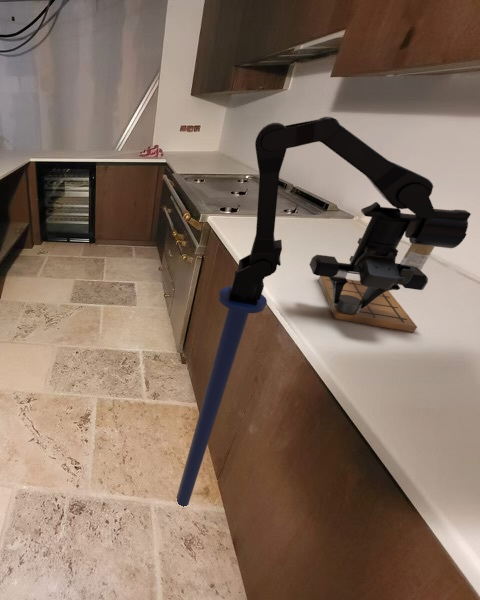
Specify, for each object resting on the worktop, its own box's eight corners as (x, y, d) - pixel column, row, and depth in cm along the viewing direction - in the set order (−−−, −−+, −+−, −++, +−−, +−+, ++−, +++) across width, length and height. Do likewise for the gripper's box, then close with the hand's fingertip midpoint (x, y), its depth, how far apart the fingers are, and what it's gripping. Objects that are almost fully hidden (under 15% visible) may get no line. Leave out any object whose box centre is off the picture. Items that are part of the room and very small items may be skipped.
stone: (336, 311, 72) (340, 302, 71) (331, 301, 75) (335, 292, 74) (361, 315, 70) (366, 306, 69) (355, 305, 74) (359, 296, 73)
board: (335, 318, 72) (338, 312, 72) (317, 280, 88) (320, 274, 87) (413, 332, 68) (418, 326, 67) (380, 289, 83) (384, 283, 83)
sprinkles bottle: (395, 275, 90) (421, 228, 83) (416, 281, 87) (445, 234, 80) (388, 279, 88) (414, 232, 81) (409, 286, 85) (438, 237, 78)
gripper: (334, 247, 61) (305, 315, 69) (464, 262, 55) (415, 334, 63) (322, 229, 70) (298, 291, 78) (433, 240, 63) (393, 306, 72)
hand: (347, 305), depth 72 cm, fingers closed on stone, 5 cm apart
